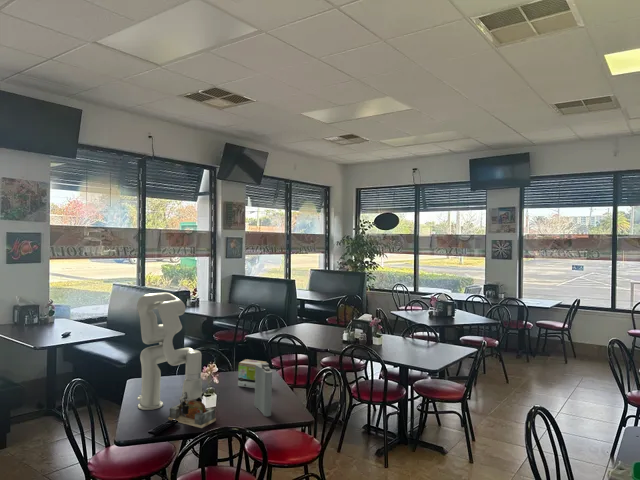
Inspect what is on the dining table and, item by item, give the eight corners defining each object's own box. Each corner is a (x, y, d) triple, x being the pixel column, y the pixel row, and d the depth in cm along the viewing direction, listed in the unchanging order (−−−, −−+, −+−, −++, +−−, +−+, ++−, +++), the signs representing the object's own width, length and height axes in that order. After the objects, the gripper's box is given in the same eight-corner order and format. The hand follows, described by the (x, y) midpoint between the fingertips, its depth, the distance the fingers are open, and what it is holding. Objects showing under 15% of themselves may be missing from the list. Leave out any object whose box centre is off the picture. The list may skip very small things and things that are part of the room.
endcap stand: (201, 428, 224) (201, 416, 224) (168, 419, 234) (168, 408, 234) (215, 420, 234) (215, 409, 234) (183, 412, 243) (183, 401, 243)
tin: (178, 415, 236) (179, 398, 236) (183, 413, 239) (183, 397, 239) (202, 421, 229) (202, 404, 229) (206, 419, 232) (207, 402, 232)
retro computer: (237, 386, 289) (238, 362, 289) (244, 382, 298) (245, 358, 298) (260, 389, 284) (260, 364, 284) (266, 384, 294) (267, 361, 294)
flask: (273, 415, 243) (274, 366, 243) (265, 416, 241) (266, 367, 241) (261, 404, 258) (263, 358, 258) (253, 405, 256) (255, 359, 256)
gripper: (198, 370, 243) (198, 404, 243) (174, 379, 228) (173, 414, 228) (210, 372, 240) (209, 406, 240) (186, 381, 224) (185, 417, 224)
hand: (192, 410), depth 234 cm, fingers open, 9 cm apart
